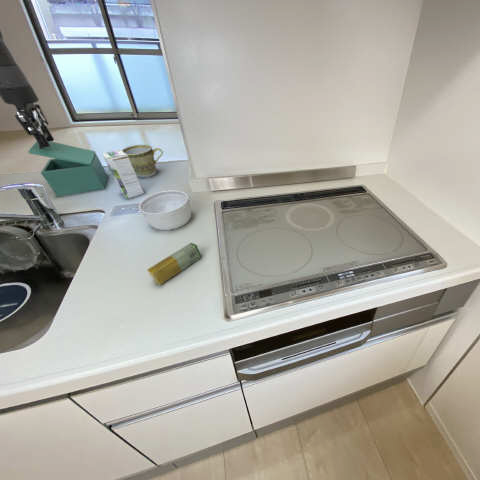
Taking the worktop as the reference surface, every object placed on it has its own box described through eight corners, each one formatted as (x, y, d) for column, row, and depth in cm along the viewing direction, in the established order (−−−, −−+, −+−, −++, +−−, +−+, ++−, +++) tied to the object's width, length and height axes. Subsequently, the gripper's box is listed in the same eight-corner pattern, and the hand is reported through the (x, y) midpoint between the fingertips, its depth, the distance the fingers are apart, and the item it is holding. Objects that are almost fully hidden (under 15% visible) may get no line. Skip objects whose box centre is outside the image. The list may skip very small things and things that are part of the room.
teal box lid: (28, 153, 79) (27, 136, 77) (38, 140, 87) (38, 125, 85) (90, 165, 88) (91, 151, 86) (95, 153, 96) (95, 139, 94)
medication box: (196, 253, 70) (191, 241, 67) (202, 257, 68) (197, 244, 66) (153, 281, 61) (145, 269, 59) (159, 285, 60) (152, 273, 58)
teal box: (57, 196, 89) (40, 172, 83) (64, 182, 96) (49, 159, 91) (104, 188, 94) (91, 165, 88) (107, 175, 102) (95, 153, 96)
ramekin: (145, 237, 74) (135, 217, 69) (150, 212, 83) (141, 193, 79) (195, 228, 78) (188, 208, 73) (194, 205, 87) (188, 187, 83)
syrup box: (121, 193, 92) (100, 153, 82) (139, 187, 95) (120, 148, 86) (127, 199, 89) (106, 158, 80) (145, 193, 92) (127, 153, 83)
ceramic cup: (131, 181, 99) (119, 155, 92) (133, 170, 105) (122, 146, 99) (169, 175, 103) (160, 151, 97) (169, 165, 110) (160, 142, 103)
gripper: (3, 79, 77) (39, 138, 87) (-18, 88, 67) (26, 153, 78) (36, 79, 80) (67, 135, 90) (21, 88, 70) (57, 150, 81)
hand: (47, 143), depth 84 cm, fingers closed on teal box lid, 5 cm apart
